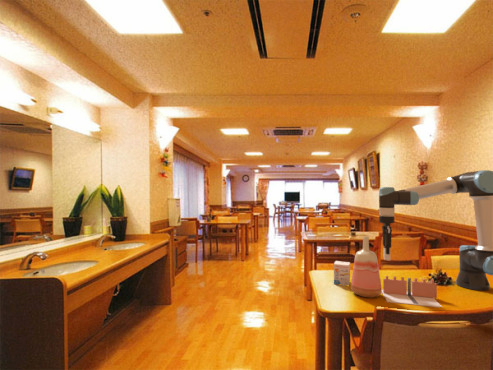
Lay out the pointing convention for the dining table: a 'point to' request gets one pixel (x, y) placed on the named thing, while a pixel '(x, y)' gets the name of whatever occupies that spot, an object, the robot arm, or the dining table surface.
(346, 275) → the ink box
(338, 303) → the dining table surface
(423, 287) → the fixed fence panel
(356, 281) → the vase
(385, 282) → the folding fence panel
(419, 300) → the card
